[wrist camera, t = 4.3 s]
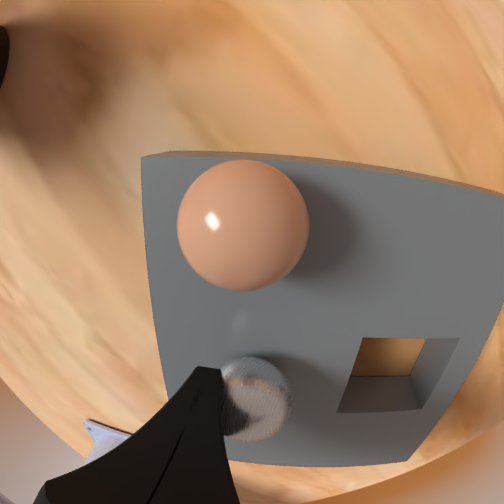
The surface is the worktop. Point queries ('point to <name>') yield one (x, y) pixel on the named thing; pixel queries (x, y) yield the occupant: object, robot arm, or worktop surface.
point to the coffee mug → (3, 52)
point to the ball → (243, 225)
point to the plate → (337, 302)
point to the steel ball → (254, 399)
